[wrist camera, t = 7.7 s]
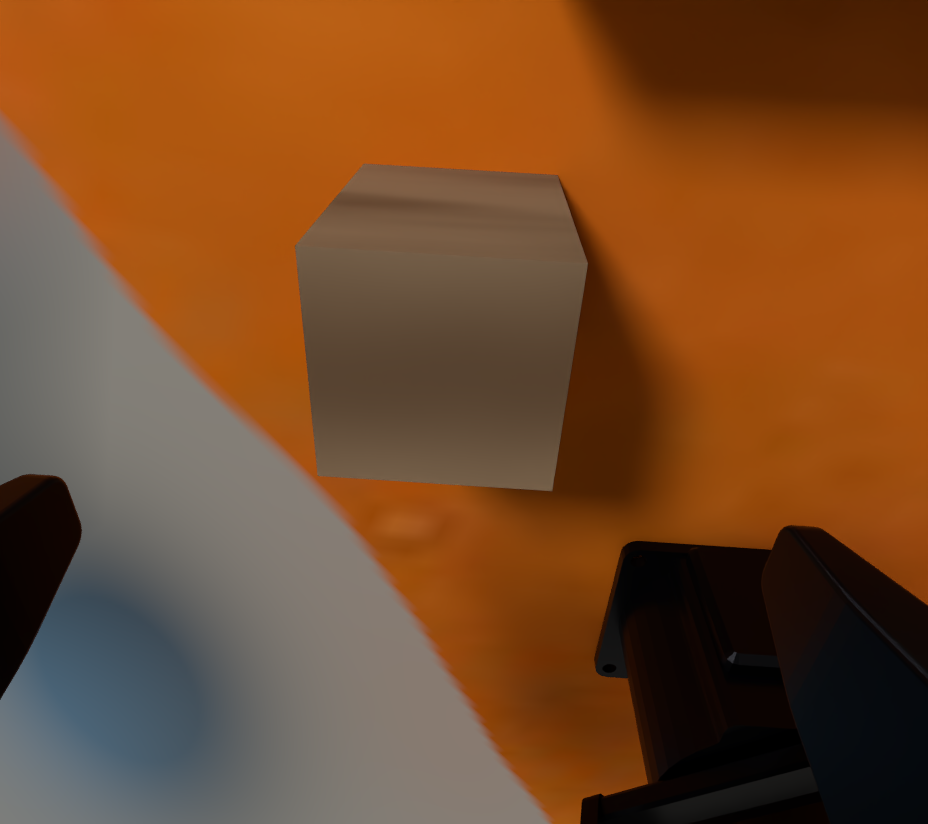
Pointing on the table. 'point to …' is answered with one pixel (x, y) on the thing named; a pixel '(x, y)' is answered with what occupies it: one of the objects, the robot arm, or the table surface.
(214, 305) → the table surface
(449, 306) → the walnut block
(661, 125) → the table surface
